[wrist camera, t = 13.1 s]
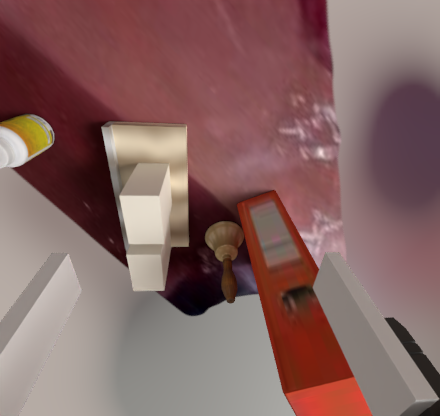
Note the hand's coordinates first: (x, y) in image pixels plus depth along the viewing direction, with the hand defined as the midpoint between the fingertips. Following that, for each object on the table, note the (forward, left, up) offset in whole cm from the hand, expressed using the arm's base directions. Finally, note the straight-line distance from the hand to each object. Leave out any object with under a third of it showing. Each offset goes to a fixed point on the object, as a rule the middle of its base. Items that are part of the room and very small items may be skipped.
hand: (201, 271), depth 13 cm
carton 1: (+10, -8, -30) cm, 32 cm away
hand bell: (+23, +5, -32) cm, 40 cm away
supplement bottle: (+2, -26, -32) cm, 41 cm away
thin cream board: (+12, -9, -32) cm, 35 cm away
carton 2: (+20, -9, -30) cm, 37 cm away
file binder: (+21, +14, -32) cm, 41 cm away
